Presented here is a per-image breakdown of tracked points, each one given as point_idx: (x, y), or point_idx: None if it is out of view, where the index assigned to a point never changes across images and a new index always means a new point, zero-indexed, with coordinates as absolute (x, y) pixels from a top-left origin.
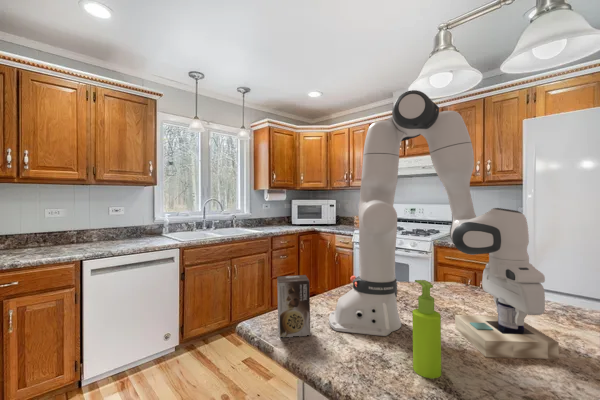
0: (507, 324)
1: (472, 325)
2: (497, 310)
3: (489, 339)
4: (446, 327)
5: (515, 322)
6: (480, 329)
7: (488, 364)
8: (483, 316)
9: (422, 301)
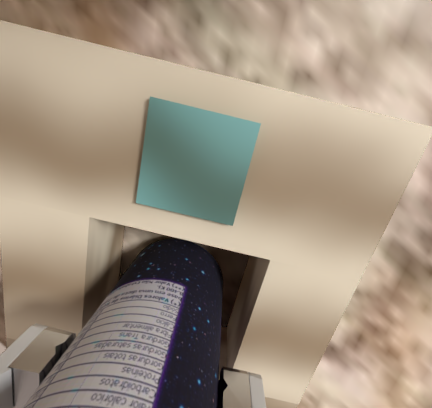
0: (110, 298)
1: (220, 114)
2: (252, 388)
3: (9, 65)
4: (398, 83)
5: (40, 333)
6: (148, 119)
7: (4, 14)
8: (330, 301)
9: None
